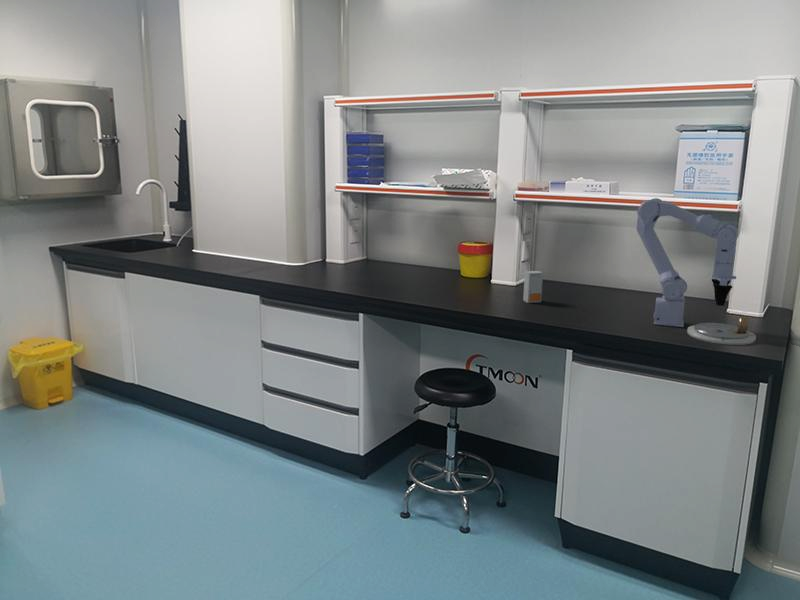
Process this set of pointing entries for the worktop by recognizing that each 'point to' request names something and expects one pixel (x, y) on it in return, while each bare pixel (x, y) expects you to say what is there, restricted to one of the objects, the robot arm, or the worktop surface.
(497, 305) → the worktop surface
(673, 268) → the robot arm
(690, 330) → the dial plate
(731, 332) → the dial
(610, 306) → the worktop surface
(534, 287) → the skincare box
